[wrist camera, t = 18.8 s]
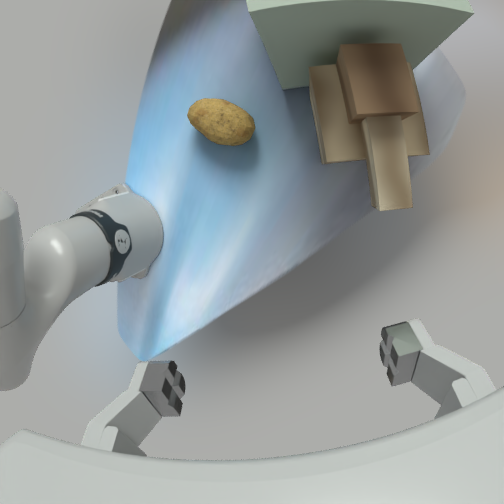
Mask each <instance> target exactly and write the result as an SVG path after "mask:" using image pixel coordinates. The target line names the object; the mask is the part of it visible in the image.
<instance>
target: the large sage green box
mask: <svg viewBox="0 0 504 504" xmlns="http://www.w3.org/2000/svg"><path fill="white" fill-rule="evenodd" d="M246 2H247V6H248V11H249V13H250V15H251V18H252V20H253V22H254V24H255V26H256V28H257V31H258V33H259V35H260V37H261V39H262V42H263V44H264V46H265V48H266V51H267V53H268V55H269V58H270V60H271V63H272V65H273V67H274V70H275V72H276V75H277V77H278V80H279V82H280V85H281V87H282V90H285V89H292V88H299V87H306V86H309V67H313V66H322V65H332V64H336V62H337V57H338V53H339V48H340V45H341V44H362V43H397V44H401V45H402V48H403V52H404V55H405V58H406V61H407V62H410V63H411V67H412V70H413V69H414V68H415V67H417V66H418V65H419V64H420V63H421V62H422V61H423V60H424V59H425V58H426V57H427V56H428V55H429V54H430V53H432V52H433V51H434V50H435V49H436V48H437V47H438V46H439V45H440V44H441V43H442V42H443V41H444V40H446V39H447V38H448V37H449V36H450V35H451V34H452V33H453V32H454V31H455V30H456V29H458V27H460V26H461V25H462V24H463V23H464V22H465V21H466V20H467V19H468V18H470V17H471V16H472V15H473V14H474V12H473V10H472V8H471V5H470V3H469V1H468V0H246Z"/></svg>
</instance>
